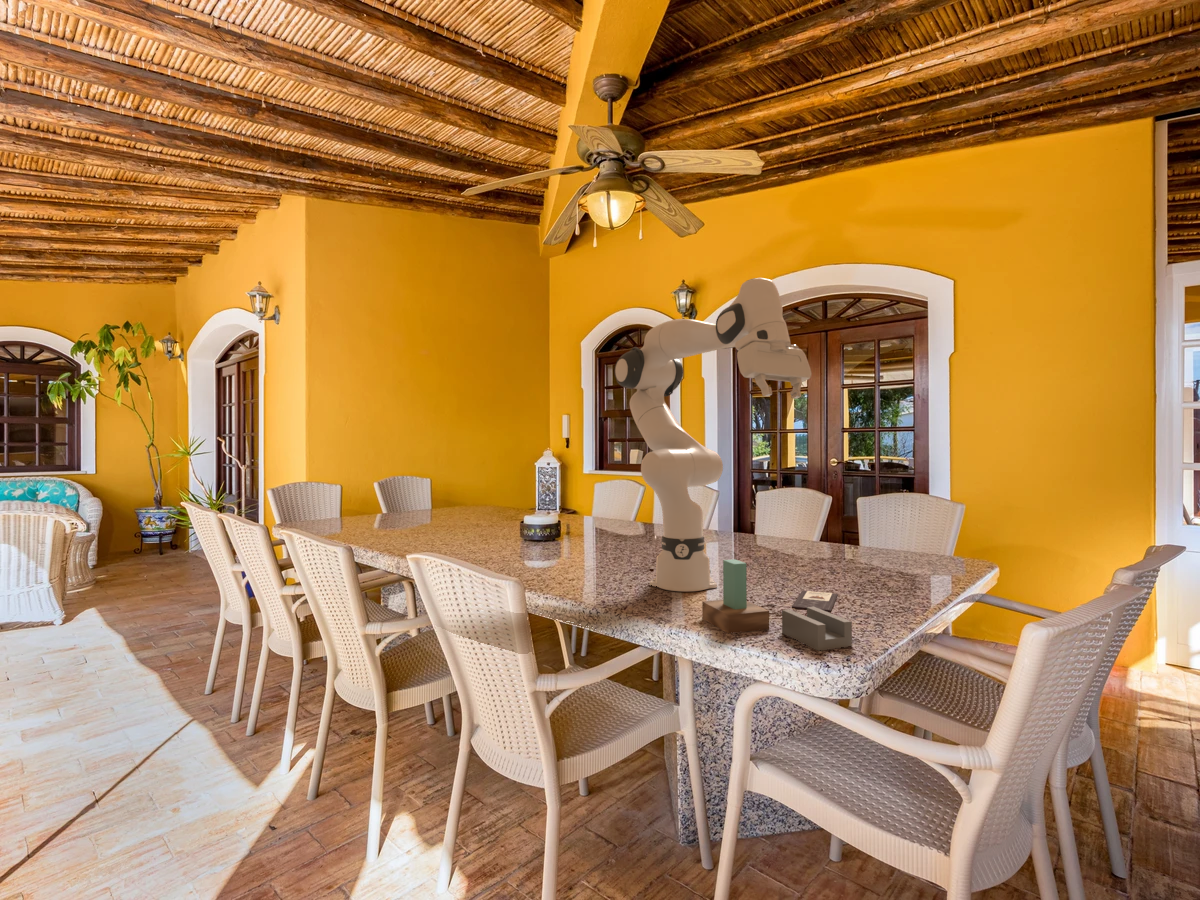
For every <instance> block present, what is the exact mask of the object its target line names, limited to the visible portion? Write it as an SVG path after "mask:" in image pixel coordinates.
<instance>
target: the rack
mask: <svg viewBox="0 0 1200 900" xmlns="http://www.w3.org/2000/svg"><path fill="white" fill-rule="evenodd" d="M852 623H853V622H852V621H851V620H849V619H847V618H844V617H841V616H839V615H837V614H834V613H832V612H831V613H830V612H826V611H824V610H821V609H819V608H816V607H807V610H806V615H805V614H802V613H799V612H797V611H794V610H791V609H789V608H788V609H781V633H782V634H783V635H785V636H787V635H788V636H787V637H789V636H790V637H789V638H791V637H792V638H791V639H793V638H794V640H795V639H796V640H795V641H797V640H798V641H797V642H799V641H800V642H799V643H801V642H802V643H801V644H803V643H804V644H803V645H805V644H806V646H807V645H808V646H807V647H809V646H810V648H812V649H813V650H816V651H817V650H818V651H819V652H820V650H821V651H827V649H828V650H834V649H835V648H836V649H841V647H844V648H849V647H848V646H851V647H853V624H852Z"/></svg>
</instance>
